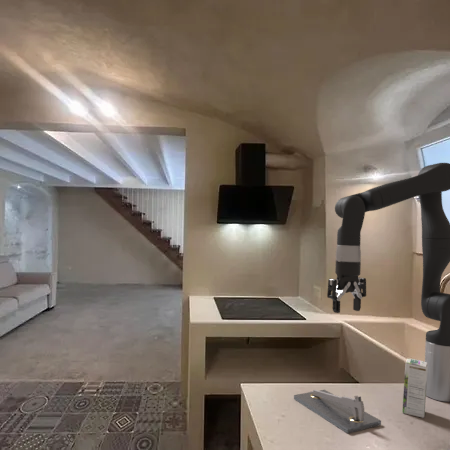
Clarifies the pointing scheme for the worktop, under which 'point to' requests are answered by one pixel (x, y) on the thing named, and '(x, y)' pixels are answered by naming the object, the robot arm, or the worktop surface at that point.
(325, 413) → the hole plate
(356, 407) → the caliper
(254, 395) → the worktop surface
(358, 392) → the worktop surface
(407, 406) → the syrup box
